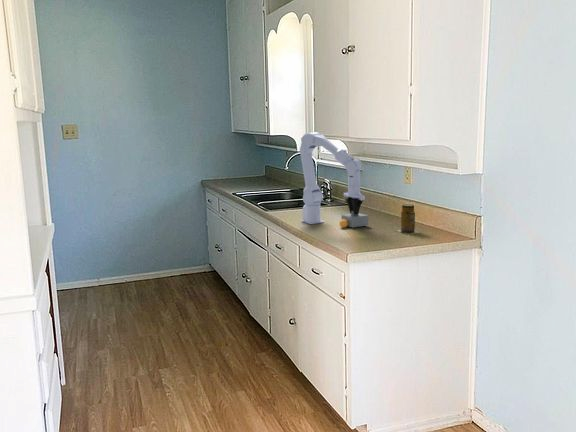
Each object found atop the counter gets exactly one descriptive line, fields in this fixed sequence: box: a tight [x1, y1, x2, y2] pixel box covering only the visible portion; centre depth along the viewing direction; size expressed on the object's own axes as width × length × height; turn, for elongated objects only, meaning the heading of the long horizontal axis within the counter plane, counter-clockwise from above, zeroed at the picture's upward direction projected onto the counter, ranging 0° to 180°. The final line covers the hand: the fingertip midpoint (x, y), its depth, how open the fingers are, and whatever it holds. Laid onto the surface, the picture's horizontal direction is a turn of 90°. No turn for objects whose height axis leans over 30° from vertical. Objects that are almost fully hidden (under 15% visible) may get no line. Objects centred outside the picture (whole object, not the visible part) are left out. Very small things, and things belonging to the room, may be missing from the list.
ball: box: [338, 219, 349, 229], centre depth 266 cm, size 4×4×4 cm
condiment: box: [397, 203, 421, 235], centre depth 252 cm, size 7×8×12 cm
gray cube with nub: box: [341, 211, 369, 228], centre depth 269 cm, size 9×9×7 cm
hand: (354, 213), depth 268 cm, fingers closed on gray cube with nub, 2 cm apart
